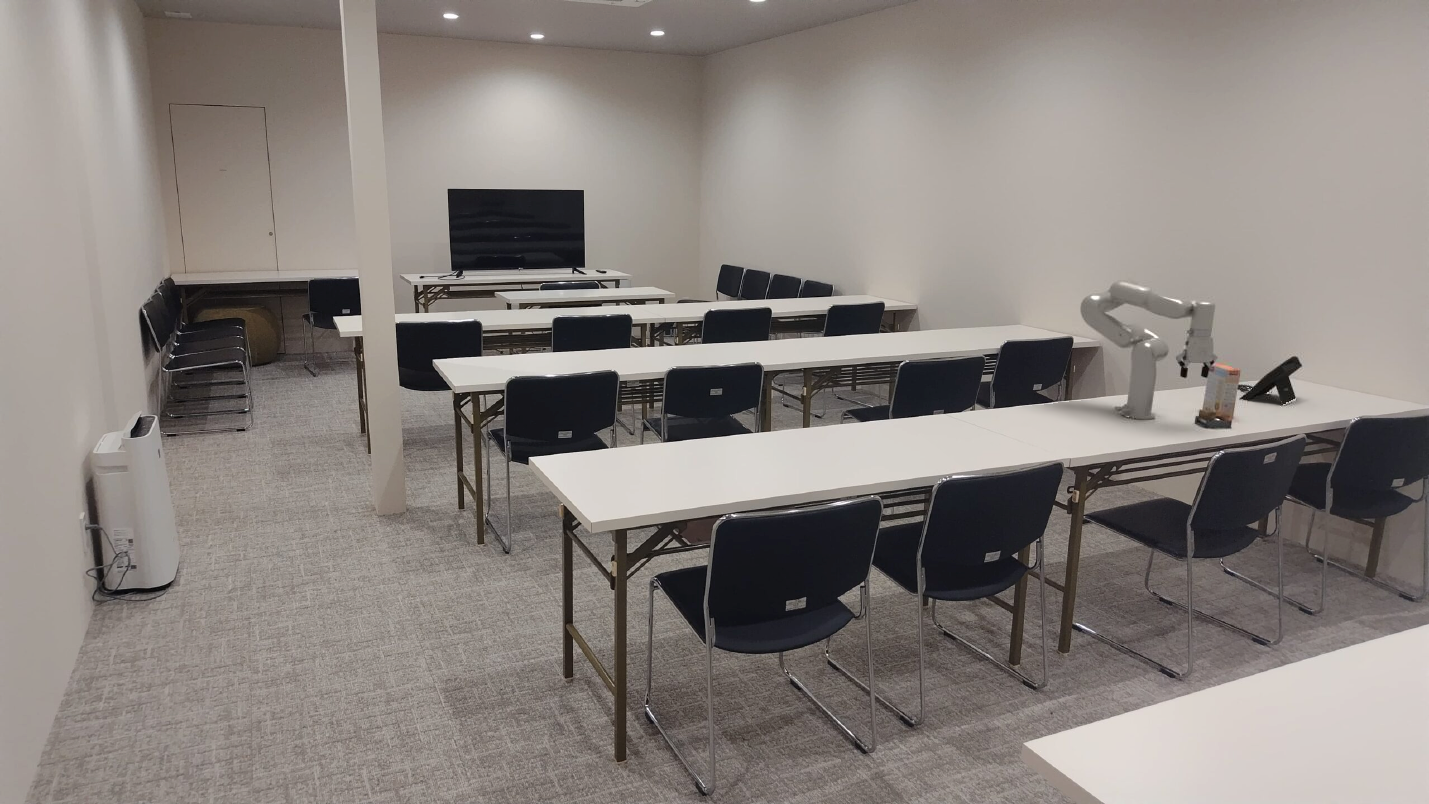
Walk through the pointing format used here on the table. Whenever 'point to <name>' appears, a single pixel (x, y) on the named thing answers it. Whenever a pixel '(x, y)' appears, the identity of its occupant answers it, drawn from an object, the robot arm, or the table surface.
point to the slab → (1207, 414)
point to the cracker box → (1221, 388)
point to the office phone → (1275, 382)
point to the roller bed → (1216, 421)
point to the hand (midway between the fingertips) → (1193, 376)
